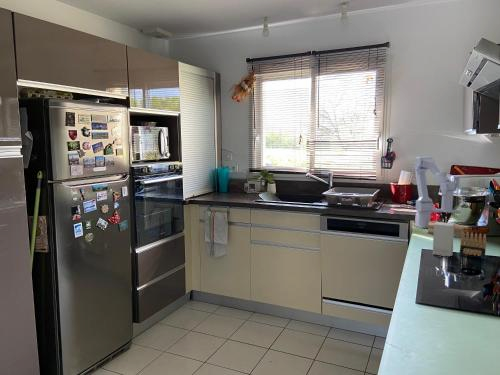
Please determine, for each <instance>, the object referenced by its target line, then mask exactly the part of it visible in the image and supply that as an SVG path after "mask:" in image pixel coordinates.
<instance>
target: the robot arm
mask: <svg viewBox="0 0 500 375" xmlns="http://www.w3.org/2000/svg"><path fill="white" fill-rule="evenodd" d="M413 163H414V170H415V171H414V173H415V178H416V184H417V192H418V199H417V200H415V211H416V213H415V215H414V216H415V217H414V218H415V219H414V223H413V224H412V225H414V226H416V227H418V228H420V229H428V223H429V221H431V214H432V213H441V214H440V215H441V217H442V219H443V222H444V223H449V220H450V218H451V216H452V215H453V214H454V215H456V214H457V215H461V213H462V212H461V210H457V209H453V205H454V204H453V202H454V192H455V191H456V189H457V185H456V184H457V183H456V182H455V181H453V180H450V178H448V176H447V175H446V173H444V172H441V170H440V169H439V167H437V164H435V159H434V158H433V157H432V156H417V157H415V160H414V161H413ZM428 170H429V171H430V172H431V173H432V174H433V175H434V179H435V180H436V181H437V184H438V185H439V187H440V188H439V189H440V190H441V191H440V192H441V205H440V206H441V207H440V208H435V204H434V203H433V199H432V198H430V197H429V192H428V185H427V176H426V172H427V171H428Z"/></svg>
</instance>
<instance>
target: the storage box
mask: <svg viewBox="0 0 500 375" xmlns="http://www.w3.org/2000/svg"><path fill="white" fill-rule="evenodd" d="M463 231H464V229H463V230H459V229H454V237H458V238H459V237H462V233H463ZM427 234H431V235H433V234H434V227H428V228H427Z"/></svg>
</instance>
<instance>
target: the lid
mask: <svg viewBox="0 0 500 375" xmlns="http://www.w3.org/2000/svg"><path fill="white" fill-rule="evenodd" d="M436 222H438V221H435V220H430V221H429V223H428V227H434V224H435V223H436ZM441 222H442V223H444V221H441ZM452 223H453V224H454V223H455V222H452ZM458 224H459V223H458ZM458 224H454V229H459V230H463V231H464V227H463V224H462V225H458Z"/></svg>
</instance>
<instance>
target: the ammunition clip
mask: <svg viewBox="0 0 500 375" xmlns="http://www.w3.org/2000/svg"><path fill="white" fill-rule="evenodd" d="M482 235H483V237H482ZM459 246H460V247H459V254H461V255H474V256H476V255H477V256H482V257H485V258H486V251H487V250H486V248H487V234H486V233H484V234H482V232H480V233H479V235H478V233H477V232H475V234H474V232H471V233H469V231H467V232H466V233H465V231H464V230H463V233H462V237H461V238H460V245H459Z"/></svg>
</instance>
